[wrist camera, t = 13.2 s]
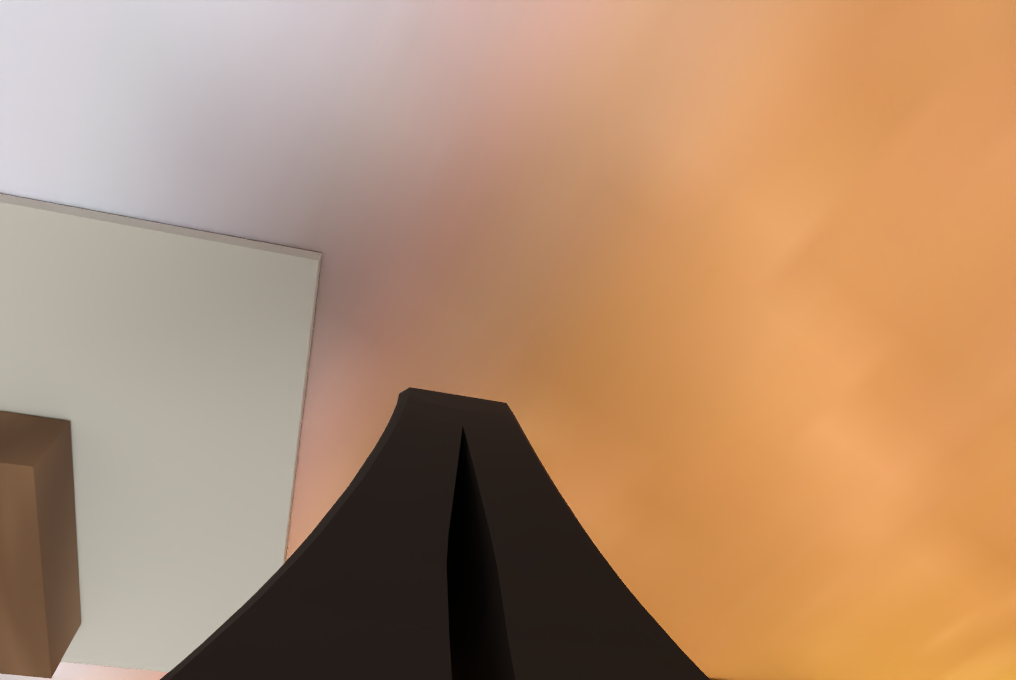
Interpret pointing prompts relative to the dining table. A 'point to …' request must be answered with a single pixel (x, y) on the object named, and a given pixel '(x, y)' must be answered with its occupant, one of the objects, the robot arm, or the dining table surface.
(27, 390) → the mat
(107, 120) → the dining table surface
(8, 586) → the tile
